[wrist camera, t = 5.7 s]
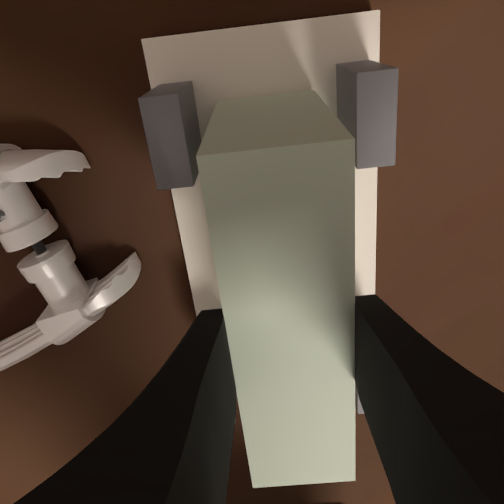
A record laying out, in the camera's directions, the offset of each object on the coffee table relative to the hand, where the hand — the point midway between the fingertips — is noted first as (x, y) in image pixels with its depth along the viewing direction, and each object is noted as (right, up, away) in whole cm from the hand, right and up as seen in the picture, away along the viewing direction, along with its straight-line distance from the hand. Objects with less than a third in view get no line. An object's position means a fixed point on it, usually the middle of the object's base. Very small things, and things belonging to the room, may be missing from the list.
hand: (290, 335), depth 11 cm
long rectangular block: (0, +2, +5) cm, 6 cm away
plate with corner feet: (0, +3, +6) cm, 7 cm away
